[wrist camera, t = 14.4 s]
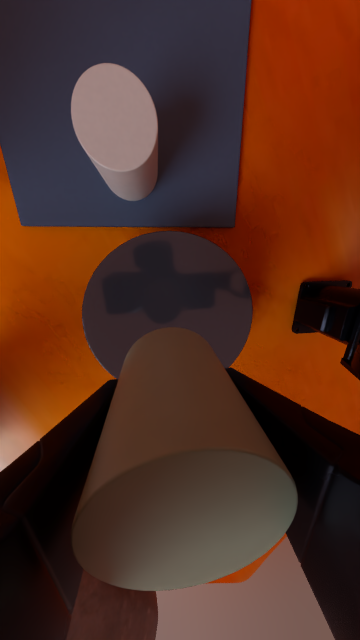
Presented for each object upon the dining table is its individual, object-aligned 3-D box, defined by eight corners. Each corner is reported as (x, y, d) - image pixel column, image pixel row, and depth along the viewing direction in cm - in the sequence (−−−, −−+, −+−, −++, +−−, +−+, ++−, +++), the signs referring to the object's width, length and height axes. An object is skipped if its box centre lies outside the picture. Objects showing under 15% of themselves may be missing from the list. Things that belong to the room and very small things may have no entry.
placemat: (253, -47, 13) (255, -56, 13) (233, 227, 19) (234, 227, 19) (-61, -105, 11) (-68, -118, 11) (24, 226, 17) (21, 225, 16)
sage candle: (217, 323, 9) (319, 431, 3) (214, 401, 10) (282, 567, 5) (117, 330, 8) (37, 472, 3) (129, 411, 10) (94, 610, 4)
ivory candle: (156, 136, 16) (155, 66, 10) (158, 201, 17) (159, 173, 11) (97, 133, 15) (61, 57, 9) (105, 200, 17) (79, 169, 11)
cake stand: (236, 238, 19) (262, 231, 15) (227, 361, 24) (244, 386, 19) (88, 238, 18) (64, 230, 13) (109, 371, 22) (96, 400, 18)
